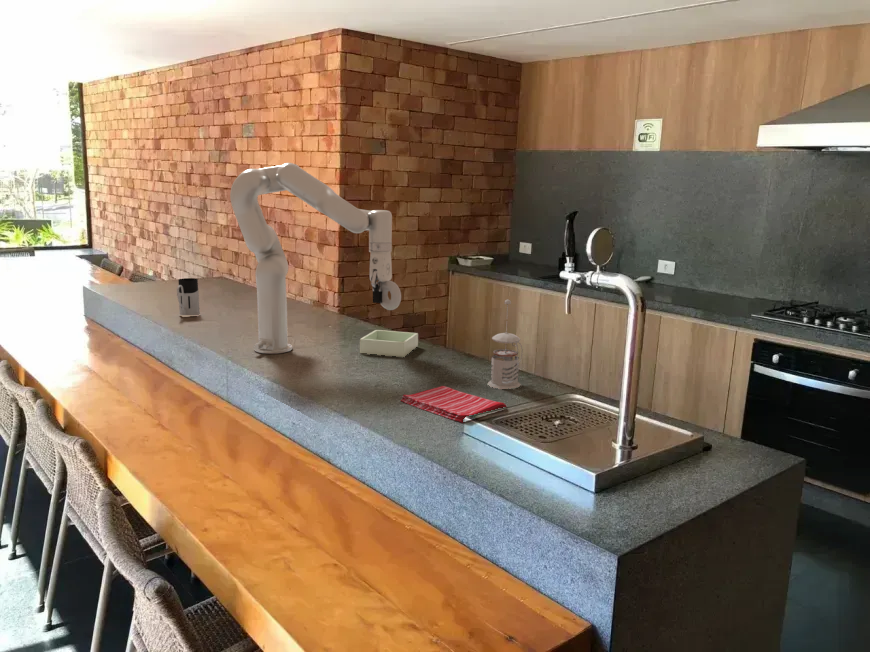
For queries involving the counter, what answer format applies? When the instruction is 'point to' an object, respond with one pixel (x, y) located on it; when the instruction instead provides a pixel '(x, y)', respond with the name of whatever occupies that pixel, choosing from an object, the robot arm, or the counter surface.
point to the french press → (505, 361)
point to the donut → (395, 295)
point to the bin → (389, 343)
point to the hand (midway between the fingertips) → (379, 301)
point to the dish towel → (450, 403)
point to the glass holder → (188, 296)
